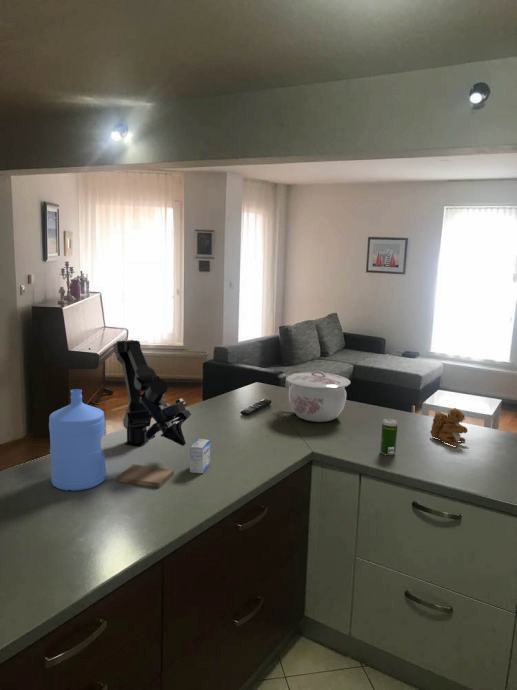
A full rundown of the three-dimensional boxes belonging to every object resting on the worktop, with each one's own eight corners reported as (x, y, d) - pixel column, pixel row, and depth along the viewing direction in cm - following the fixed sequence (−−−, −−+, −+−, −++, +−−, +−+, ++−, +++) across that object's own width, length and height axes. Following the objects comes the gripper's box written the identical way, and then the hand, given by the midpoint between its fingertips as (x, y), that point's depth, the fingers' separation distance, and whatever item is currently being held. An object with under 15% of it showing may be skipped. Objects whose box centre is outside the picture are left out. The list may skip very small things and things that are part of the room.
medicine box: (202, 474, 165) (203, 448, 164) (189, 472, 166) (189, 446, 165) (210, 464, 173) (210, 439, 171) (197, 463, 174) (197, 438, 172)
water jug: (75, 497, 148) (71, 400, 143) (40, 483, 156) (35, 391, 151) (117, 477, 161) (115, 389, 156) (82, 465, 169) (79, 381, 164)
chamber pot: (353, 428, 212) (356, 379, 209) (285, 426, 213) (287, 377, 209) (343, 408, 240) (345, 364, 236) (283, 406, 240) (284, 362, 237)
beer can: (398, 455, 185) (401, 422, 183) (385, 457, 184) (387, 424, 182) (389, 449, 190) (392, 418, 188) (377, 451, 189) (379, 419, 186)
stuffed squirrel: (456, 449, 193) (460, 414, 191) (422, 438, 204) (425, 405, 202) (470, 443, 200) (473, 409, 198) (436, 433, 210) (439, 401, 208)
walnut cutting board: (117, 481, 158) (117, 476, 158) (133, 468, 168) (133, 464, 168) (159, 487, 155) (159, 483, 155) (173, 474, 164) (173, 470, 164)
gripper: (152, 399, 161) (183, 439, 158) (186, 386, 178) (214, 422, 175) (132, 420, 166) (161, 459, 163) (167, 405, 182) (194, 441, 179)
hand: (184, 444), depth 170 cm, fingers closed
